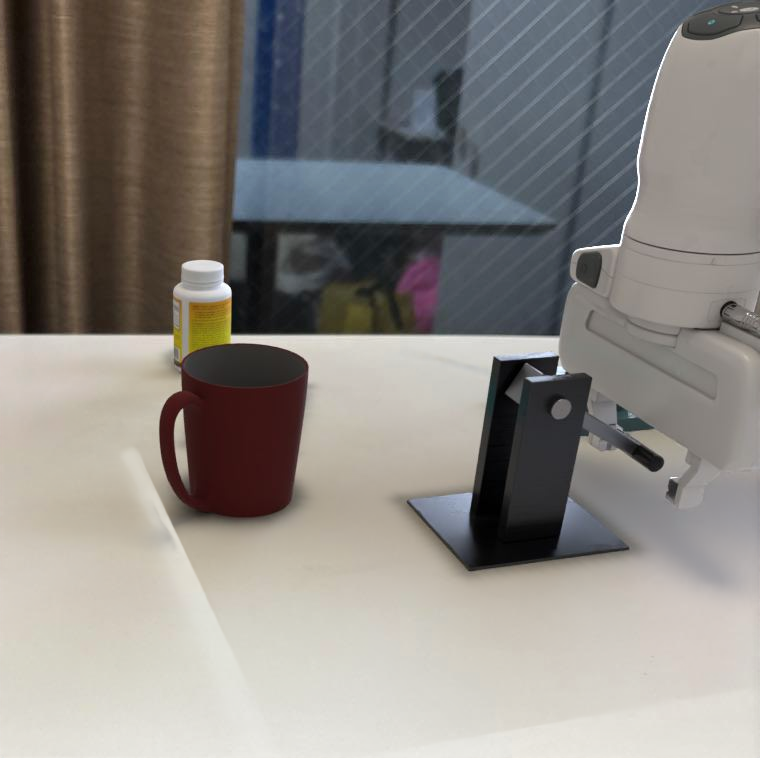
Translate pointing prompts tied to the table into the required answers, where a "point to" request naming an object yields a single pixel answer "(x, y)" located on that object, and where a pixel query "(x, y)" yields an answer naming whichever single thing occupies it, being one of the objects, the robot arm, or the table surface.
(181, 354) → the supplement bottle
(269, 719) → the table surface
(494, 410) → the switch bracket
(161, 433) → the mug
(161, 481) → the table surface
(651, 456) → the switch lever
